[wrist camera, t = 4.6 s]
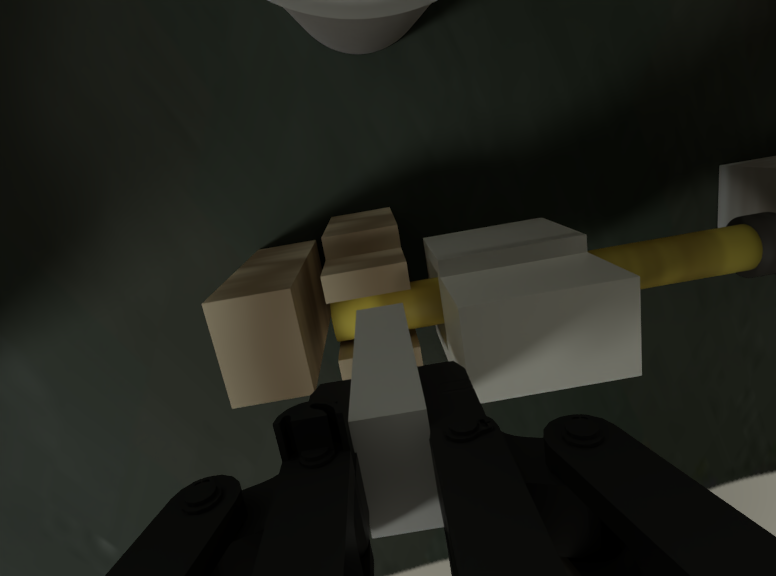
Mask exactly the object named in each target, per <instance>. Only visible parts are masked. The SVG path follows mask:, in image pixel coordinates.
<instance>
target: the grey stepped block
mask: <svg viewBox="0 0 776 576" xmlns="http://www.w3.org/2000/svg"><path fill="white" fill-rule="evenodd" d="M423 243H424V249H425V256H426V263H427V270H428V276H429V278H435V277H438V280H439V287H440V294H441V301H442V308H443V315H444V322H445V323H444V324H438V325H436V330H437V333H438V336H439V338H440V341H441V343H442V346H443V348H444V351H445V353H446V356H447V358H448V361H454V362H456V363H458V364H459V365H461V366H462V367H464V368H465V369H466V372H467V374H468V376H469V379H470V381H471V383H472V385H473V388H474V390H475V392H476V394H477V397H478V399H479V401H480V403H486V402H492V401H498V400H504V399H509V398H515V397H521V396H527V395H532V394H538V393H544V392H550V391H555V390H561V389H567V388H573V387H578V386H584V385H590V384H596V383H601V382H607V381H613V380H618V379H624V378H630V377H636V376H641V375H642V357H641V304H640V276H638V275H636V274H634V273H632V272H630V271H627V270H625V269H623V268H621V267H619V266H617V265H614V264H612V263H610V262H608V261H606V260H603V259H601V258H599V257H597V256H595V255H593V254H590V253H588V252H587V235H586V234H584V233H581V232H579V231H576V230H573V229H571V228H568V227H565V226H563V225H560V224H558V223H555V222H552V221H550V220H547V219H545V218H542V217H541V218H535V219H529V220H523V221H518V222H512V223H506V224H500V225H495V226H489V227H483V228H478V229H472V230H466V231H460V232H455V233H449V234H443V235H437V236H432V237H426V238H423Z"/></svg>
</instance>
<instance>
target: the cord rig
mask: <svg viewBox="0 0 776 576" xmlns="http://www.w3.org/2000/svg"><path fill="white" fill-rule="evenodd" d="M321 240H322V245H323V249H324V254H325V259H326V261H325V264H324V267H323V270H322V266H321V261H320V256H319V252H318V247H317V242H316V240H312V241H306V242H300V243H295V244H289V245H283V246H277V247H272V248H266V249H260V250H258V251H257V252H256V253H255V254H253V255H252V256H251V257H250V258H249V259H248V260H247V261H246V262H245V263H244V264H243V265H242V266H241V267H240V268H239V269H238V270H237V271H236V272H235V273H233V274H232V275H231V276H230V277H229V278H228V279H227V280H226V281H225V282H224V283H223V284H222V285H221V286H220V287H219V288H218V289H217V290H216V291H215V292H214V293H212V294H211V295H210V296H209V297H208V298H207V299H206V300H205V301H204V302H203V303H202V307H203V311H204V314H205V318H206V321H207V324H208V328H209V331H210V335H211V338H212V341H213V345H214V348H215V352H216V355H217V359H218V362H219V365H220V369H221V372H222V376H223V379H224V382H225V386H226V389H227V393H228V396H229V400H230V403H231V406H232V409H234V408H239V407H245V406H251V405H257V404H262V403H268V402H274V401H280V400H285V399H291V398H297V397H303V396H308V395H311V394H312V393H313V392H314V391H315V390H316V387H317V382H318V377H319V372H320V367H321V362H322V357H323V352H324V347H325V342H326V337H327V332H328V327H329V322H330V317H332V323H333V327H334V332H335V335H336V338H337V341H338V342H340V341H341V343H340V351H339V360H338V362H339V366H340V371H341V376H342V380H349V379H351V376H352V363H353V349H354V336H355V323H356V310H362V309H368V308H374V307H380V306H386V305H392V304H398V303H403V306H404V311H405V315H406V319H407V324H408V328H409V333H410V337H411V342H412V346H413V351H414V355H415V360H416V364H417V367H418V366H423V362H422V356H421V350H420V345H419V341H418V338H417V334H416V331H415V328H421V327H426V326H432V325H438V324H444V323H445V322H444V315H443V308H442V301H441V294H440V287H439V280H438V277H435V278H429V279H423V280H418V281H412V282H410V281H409V275H408V269H407V262H406V259H405V257H404V254H403V251H402V249H401V244H400V238H399V232H398V226H397V223H396V221H395V218H394V216H393V214H392V212H391V209H390V207H387V208H381V209H375V210H370V211H364V212H358V213H353V214H347V215H341V216H335V217H331V219H330V221H329V223H328V225H327V227H326V229H325V231H324V233H323V235H322V237H321ZM587 252H588V253H590V254H593V255H595V256H597V257H599V258H601V259H603V260H606V261H608V262H610V263H612V264H614V265H617V266H619V267H621V268H623V269H625V270H627V271H630V272H632V273H634V274H636V275H638V276H640V289H644V288H650V287H656V286H662V285H667V284H673V283H679V282H685V281H690V280H696V279H702V278H707V277H713V276H719V275H725V274H730V273H736V274H738V275H739V276H742V277H745V278H753V277H759V276H765V275H771V274H776V156H771V157H765V158H759V159H753V160H748V161H742V162H736V163H730V164H725V165H719V196H718V228H716V229H710V230H704V231H699V232H693V233H687V234H681V235H676V236H670V237H664V238H658V239H653V240H647V241H641V242H636V243H630V244H624V245H618V246H613V247H607V248H601V249H595V250H590V251H587Z"/></svg>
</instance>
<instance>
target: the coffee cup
mask: <svg viewBox="0 0 776 576" xmlns="http://www.w3.org/2000/svg"><path fill="white" fill-rule="evenodd" d="M267 1H269V2H272V3H274V4H277V5H279V6H282V7H283V8H284V9H285V10H286V11H287V12H288V13H289V14H290V15H291V16H292V17H293V18H294V19H295V20H296V21H297V22H298V23H299V24H300V25H301V26H302V27H303V28H304V29H305V30H306V31H307V32H308V33H309V34H310V35H311V36H312V37H314V38H315V39H316V40H317V41H319V42H320V43H322V44H323V45H325V46H327V47H329V48H331V49H334V50H336V51H339V52H343V53H349V54H367V53H372V52H376V51H379V50H382V49H384V48H386V47H388V46H390V45H392V44H393V43H395V42H396V41H398V40H399V39H400V38H401V37H402V36H403V35H404V34H405V33H406V32H407V31H408V30H409V29H410V28H411V27H412V26H413V24H414V23H415V22H416V21H417V20H418V18H419V17H420V16H421V15H422V14H423V12H424V11H425V10H426V9H427V8H428V7H429V5H430V4H431V3H433V2H435V1H437V0H267Z"/></svg>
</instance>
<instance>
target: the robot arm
mask: <svg viewBox="0 0 776 576" xmlns="http://www.w3.org/2000/svg"><path fill="white" fill-rule="evenodd" d="M273 428H274V432H275V435H276V439H277V443H278V447H279V451H280V455H281V458H282V465H281V469H280V472H279V474H278V475H276V476H275V477H273V478H271V479H269V480H267V481H265V482H263V483H260V484H257V485H255V486H252V487H250V488H247V489H244V490H241V486H240V483H239V481H238V480H236V479H235V478H234V477H232V476H226V475H217V476H210V477H206V478H203V479H200V480H197V481H195V482H193V483H192V484H190V485H189V486H187V487H185V488H183V489H182V490H181V491H179V492H178V493H177V494H176V495H175V496H174V497H173V498H172V499H171V500H170V501H169V502H168V503H167V504H166V506H165V507H164V508H163V509H162V510H161V511H160V513H159V514H158V515H157V516H156V517H155V518H154V520H153V521H152V522H151V523H150V524H149V525H148V526H147V528H146V529H145V530H144V531H143V532H142V533H141V535H140V536H139V537H138V538H137V539H136V540H135V542H134V543H133V544H132V545H131V546H130V547H129V549H128V550H127V551H126V552H125V553H124V554H123V556H122V557H121V558H120V559H119V560H118V561H117V563H116V564H115V565H114V566H113V567H112V568H111V570H110V571H109V572H108V573H107V574H106V575H105V576H374V558H373V553H372V549H371V544H370V539H369V524H370V529H371V533H372V538H379V537H385V536H391V535H397V534H403V533H409V532H416V531H422V530H428V529H434V528H440V527H444V530H445V536H446V542H447V548H448V555H449V561H450V567H451V574H452V576H776V537H775V536H774V535H772V534H771V533H769V532H768V531H767V530H765V529H764V528H762V527H761V526H759V525H758V524H756V523H755V522H754V521H752V520H751V519H749V518H748V517H746V516H745V515H744V514H742V513H741V512H739V511H738V510H736V509H735V508H734V507H732V506H731V505H729V504H728V503H726V502H725V501H724V500H722V499H721V498H719V497H718V496H716V495H715V494H713V493H712V492H711V491H709V490H708V489H706V488H705V487H703V486H702V485H701V484H699V483H698V482H696V481H695V480H693V479H692V478H690V477H689V476H688V475H686V474H685V473H683V472H682V471H680V470H679V469H678V468H676V467H675V466H673V465H672V464H670V463H669V462H667V461H666V460H665V459H663V458H662V457H660V456H659V455H657V454H656V453H655V452H653V451H652V450H650V449H649V448H647V447H646V446H645V445H643V444H642V443H640V442H639V441H637V440H636V439H634V438H633V437H632V436H630V435H629V434H627V433H626V432H624V431H623V430H622V429H620V428H619V427H617V426H616V425H614V424H612V423H610V422H608V421H606V420H604V419H602V418H598V417H594V416H590V415H582V414H580V415H578V414H576V415H568V416H563V417H559V418H557V419H555V420H553V421H551V422H549V423H548V425H547V426H546V427H545V428H544V438H532V437H520V436H514V435H510V434H506V433H504V432H502V431H501V430H500V428H499V426H498V425H497V424H496V423H495V421H494V420H493V419H491V418H489V417H487V416H486V415H485V412H484V410H483V408H482V406H481V403H480V401H479V399H478V397H477V394H476V392H475V390H474V388H473V385H472V383H471V381H470V379H469V376H468V374H467V372H466V369H465V368H464V367H462V366H461V365H459V364H458V363H456V362H454V361H448V362H442V363H436V364H430V365H424V366H418V367H417V364H416V360H415V355H414V351H413V346H412V342H411V337H410V333H409V328H408V324H407V319H406V315H405V311H404V306H403V303H398V304H392V305H386V306H380V307H374V308H368V309H362V310H356V323H355V336H354V349H353V363H352V376H351V379H349V380H343V381H337V382H331V383H325V384H320V385H319V386H318V388H317V389H316V390H315V391H314V392H313V393H312V394H311V395H310V399H309V402H305V403H301V404H298V405H296V406H294V407H291V408H289V409H287V410H286V411H284V412H283V413H282V414H280V415H279V416H278V417H277V418H276V420H275V421H274V423H273Z"/></svg>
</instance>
